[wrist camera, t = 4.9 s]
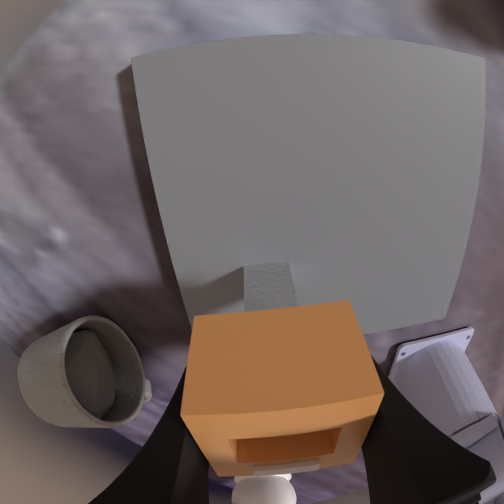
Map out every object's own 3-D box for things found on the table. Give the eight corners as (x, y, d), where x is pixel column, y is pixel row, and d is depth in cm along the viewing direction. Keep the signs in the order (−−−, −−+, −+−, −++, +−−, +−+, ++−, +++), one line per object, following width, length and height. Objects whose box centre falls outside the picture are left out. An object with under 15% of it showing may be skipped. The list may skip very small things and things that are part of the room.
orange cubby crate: (348, 299, 11) (386, 398, 7) (336, 387, 13) (354, 466, 10) (194, 315, 11) (179, 421, 7) (220, 399, 14) (218, 480, 10)
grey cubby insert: (288, 279, 18) (301, 337, 14) (246, 283, 18) (247, 343, 14) (288, 261, 17) (300, 318, 13) (243, 265, 17) (244, 324, 13)
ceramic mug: (32, 325, 21) (-5, 396, 15) (89, 291, 19) (45, 381, 13) (114, 396, 26) (98, 465, 20) (179, 379, 24) (169, 462, 18)
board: (438, 308, 21) (444, 318, 20) (200, 339, 22) (199, 352, 21) (472, 57, 12) (484, 58, 11) (138, 59, 12) (130, 57, 11)
